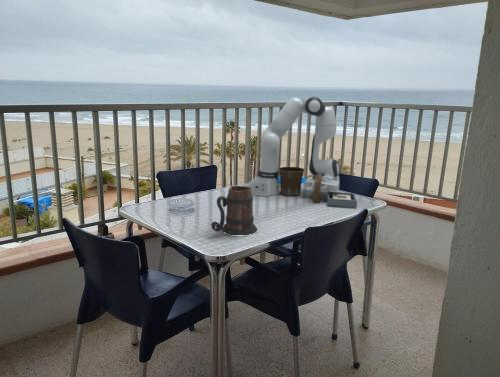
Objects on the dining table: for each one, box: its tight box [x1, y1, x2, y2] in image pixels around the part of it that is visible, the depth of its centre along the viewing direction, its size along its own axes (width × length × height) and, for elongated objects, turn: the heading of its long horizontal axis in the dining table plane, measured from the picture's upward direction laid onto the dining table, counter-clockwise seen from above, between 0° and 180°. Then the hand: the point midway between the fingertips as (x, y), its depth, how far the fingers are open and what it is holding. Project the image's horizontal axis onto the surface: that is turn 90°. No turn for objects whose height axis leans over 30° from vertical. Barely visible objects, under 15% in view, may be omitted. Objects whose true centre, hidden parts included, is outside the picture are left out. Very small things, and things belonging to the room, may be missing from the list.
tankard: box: [210, 185, 258, 236], centre depth 164 cm, size 24×17×20 cm
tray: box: [326, 191, 358, 209], centre depth 211 cm, size 16×16×4 cm
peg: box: [312, 175, 323, 204], centre depth 211 cm, size 4×4×16 cm
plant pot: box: [278, 166, 305, 197], centre depth 229 cm, size 16×16×16 cm
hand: (317, 187), depth 210 cm, fingers closed on peg, 4 cm apart
